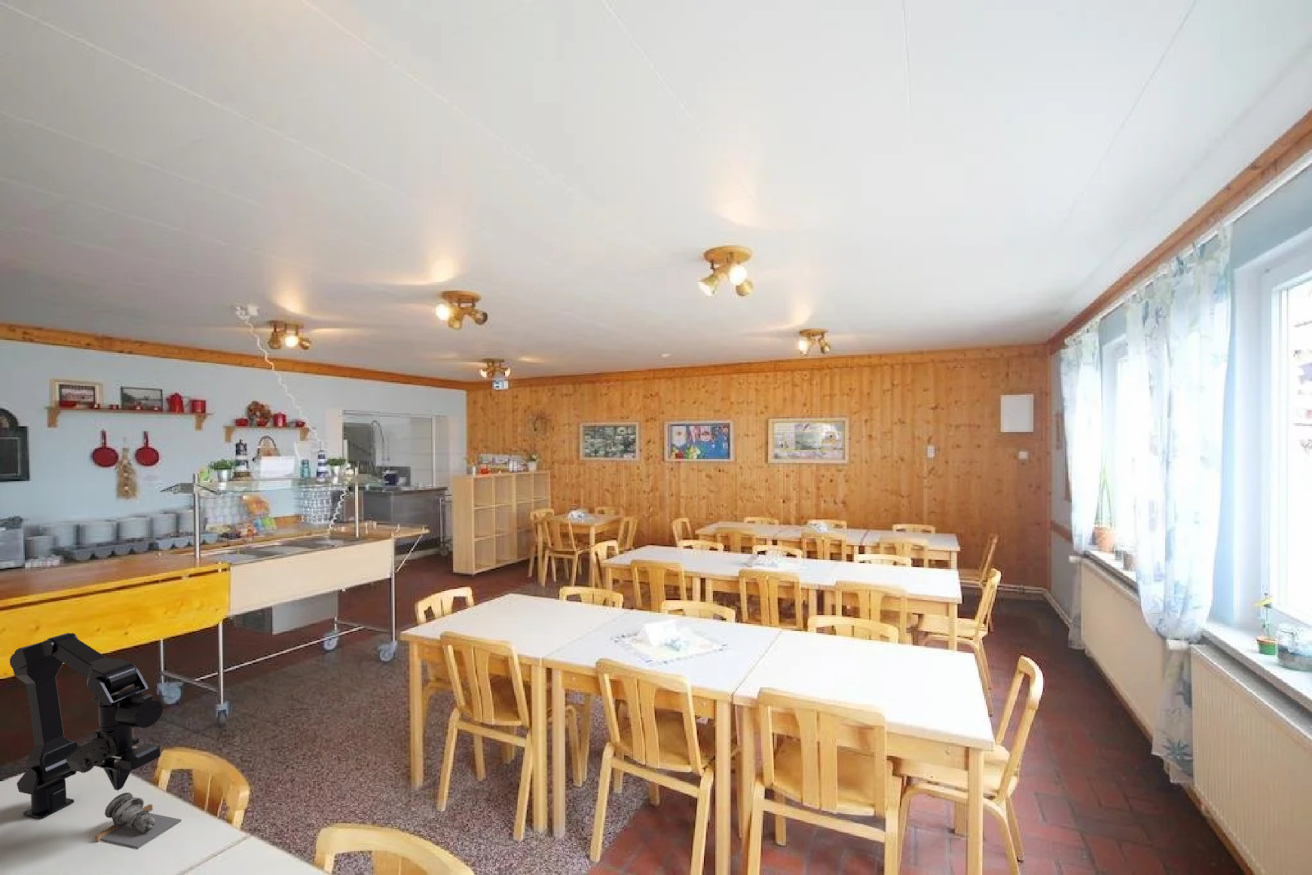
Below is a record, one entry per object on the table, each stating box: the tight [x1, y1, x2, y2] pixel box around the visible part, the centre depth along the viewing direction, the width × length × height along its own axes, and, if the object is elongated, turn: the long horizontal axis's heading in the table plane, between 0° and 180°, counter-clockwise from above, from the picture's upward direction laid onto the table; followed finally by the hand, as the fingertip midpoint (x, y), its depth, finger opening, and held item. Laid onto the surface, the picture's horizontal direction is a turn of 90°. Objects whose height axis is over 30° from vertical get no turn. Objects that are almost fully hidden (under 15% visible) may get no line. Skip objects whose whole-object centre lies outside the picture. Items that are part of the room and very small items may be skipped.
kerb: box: [94, 803, 154, 843], centre depth 134 cm, size 1×11×1 cm, turn 165°
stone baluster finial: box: [104, 792, 155, 832], centre depth 132 cm, size 6×6×12 cm
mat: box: [100, 812, 182, 849], centre depth 132 cm, size 11×9×1 cm
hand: (118, 789), depth 134 cm, fingers closed
